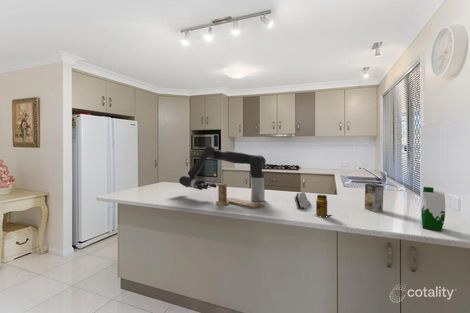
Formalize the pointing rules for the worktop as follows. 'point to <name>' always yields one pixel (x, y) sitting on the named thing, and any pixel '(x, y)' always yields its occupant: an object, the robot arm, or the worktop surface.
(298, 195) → the light grey flat case
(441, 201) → the milk carton
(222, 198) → the upright board on stand
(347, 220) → the worktop surface
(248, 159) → the robot arm
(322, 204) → the condiment
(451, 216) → the worktop surface
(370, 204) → the coffee box
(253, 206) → the walnut board
